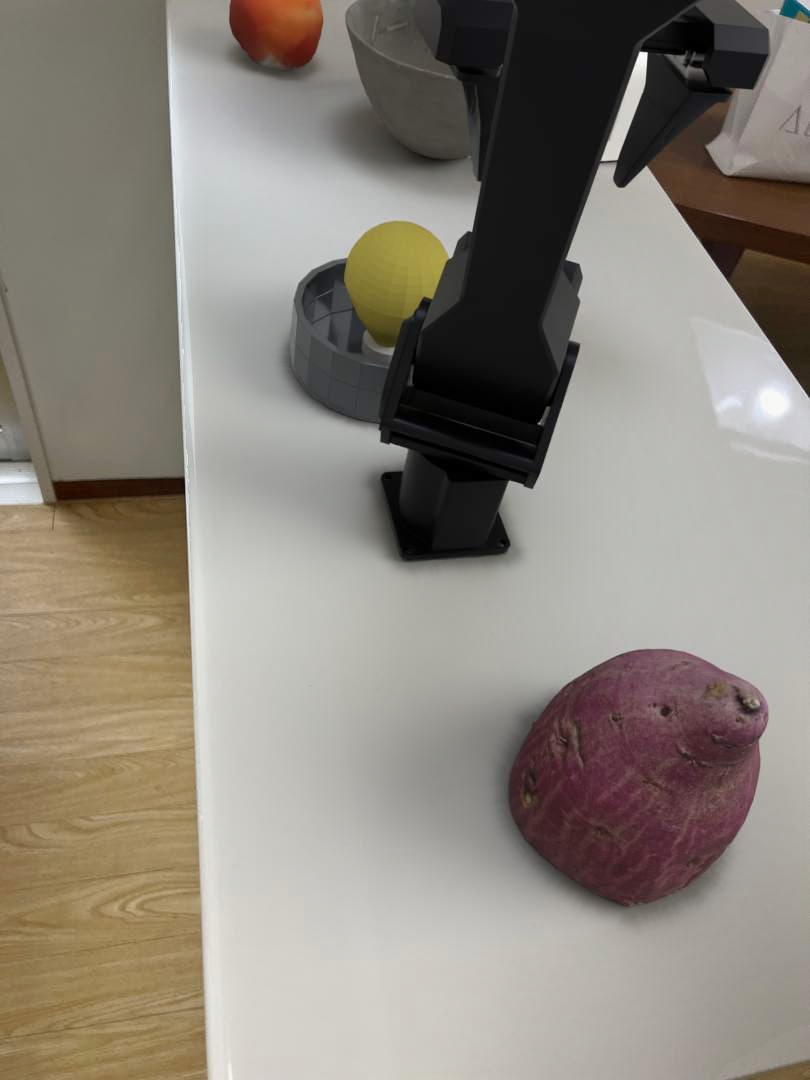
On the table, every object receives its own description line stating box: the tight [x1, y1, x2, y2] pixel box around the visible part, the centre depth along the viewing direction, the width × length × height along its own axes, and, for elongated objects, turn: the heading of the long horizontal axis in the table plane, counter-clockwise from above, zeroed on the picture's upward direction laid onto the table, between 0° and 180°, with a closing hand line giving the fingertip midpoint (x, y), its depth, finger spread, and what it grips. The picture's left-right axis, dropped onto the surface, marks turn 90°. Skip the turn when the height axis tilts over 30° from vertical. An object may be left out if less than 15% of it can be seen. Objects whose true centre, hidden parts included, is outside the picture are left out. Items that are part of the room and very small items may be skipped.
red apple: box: [228, 0, 324, 71], centre depth 86 cm, size 9×9×8 cm
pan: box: [289, 257, 390, 424], centre depth 58 cm, size 12×12×4 cm
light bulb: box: [344, 220, 450, 363], centre depth 55 cm, size 7×7×10 cm
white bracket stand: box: [601, 52, 647, 162], centre depth 84 cm, size 5×10×10 cm, turn 114°
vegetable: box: [508, 648, 770, 907], centre depth 36 cm, size 10×10×15 cm
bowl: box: [344, 0, 471, 161], centre depth 78 cm, size 19×19×10 cm
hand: (549, 181), depth 53 cm, fingers open, 9 cm apart
